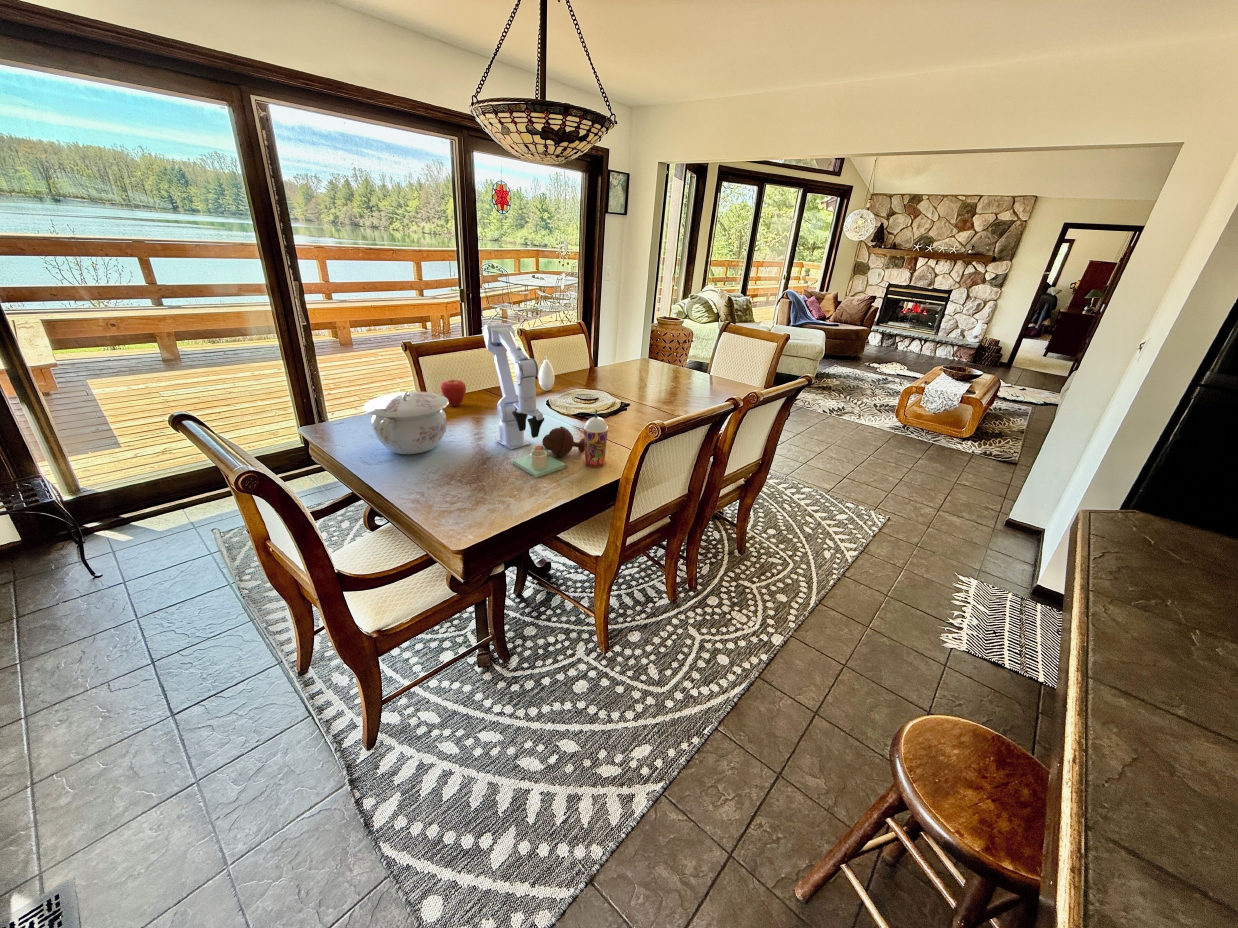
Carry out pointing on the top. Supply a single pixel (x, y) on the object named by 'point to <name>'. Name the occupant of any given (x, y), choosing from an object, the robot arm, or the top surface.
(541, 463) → the beige cup
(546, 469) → the scale
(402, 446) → the chamber pot
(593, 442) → the smoothie
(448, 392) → the apple
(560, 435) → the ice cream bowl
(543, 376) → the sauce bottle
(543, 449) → the tare button
